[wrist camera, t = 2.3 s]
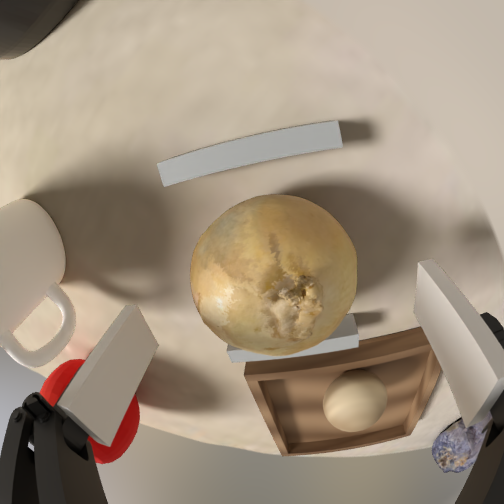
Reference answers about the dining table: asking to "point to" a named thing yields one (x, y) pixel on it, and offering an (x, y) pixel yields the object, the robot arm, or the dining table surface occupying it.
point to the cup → (31, 278)
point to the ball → (355, 401)
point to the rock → (459, 445)
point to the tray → (321, 376)
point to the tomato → (101, 452)
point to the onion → (274, 275)
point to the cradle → (254, 152)
